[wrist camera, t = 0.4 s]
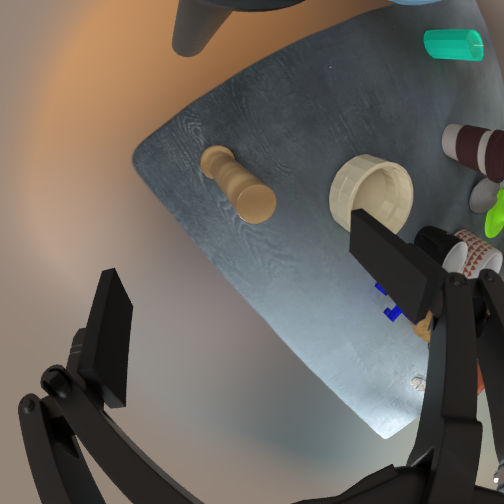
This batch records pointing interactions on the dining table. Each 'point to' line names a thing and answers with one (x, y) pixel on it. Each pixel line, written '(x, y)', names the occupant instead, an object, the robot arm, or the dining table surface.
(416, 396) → the dining table surface
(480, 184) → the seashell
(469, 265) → the white patterned cup
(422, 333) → the potato
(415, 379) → the white lumpy piece
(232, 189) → the wooden pestle
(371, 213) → the bowl
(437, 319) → the robot arm
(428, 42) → the candle
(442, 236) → the mug
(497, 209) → the wineglass
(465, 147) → the coffee cup
